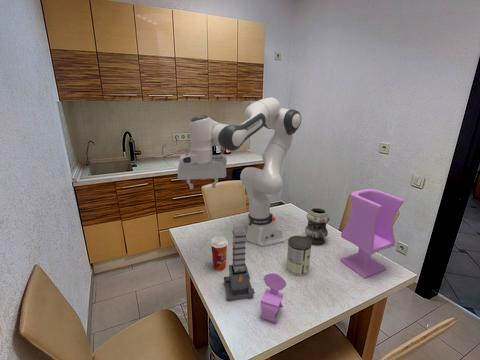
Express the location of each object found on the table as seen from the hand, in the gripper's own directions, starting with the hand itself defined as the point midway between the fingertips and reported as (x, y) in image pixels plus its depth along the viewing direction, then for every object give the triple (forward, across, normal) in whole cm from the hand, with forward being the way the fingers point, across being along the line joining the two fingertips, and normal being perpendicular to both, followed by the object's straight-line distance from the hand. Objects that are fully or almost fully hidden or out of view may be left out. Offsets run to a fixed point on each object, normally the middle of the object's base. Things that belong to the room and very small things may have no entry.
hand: (202, 188), depth 109 cm
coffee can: (+38, -41, +13) cm, 57 cm away
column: (+27, -12, +21) cm, 36 cm away
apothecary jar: (+38, -60, -8) cm, 71 cm away
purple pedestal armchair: (+38, -72, +16) cm, 83 cm away
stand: (+37, -12, +21) cm, 44 cm away
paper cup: (+38, -6, +5) cm, 38 cm away
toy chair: (+38, -22, +34) cm, 55 cm away
